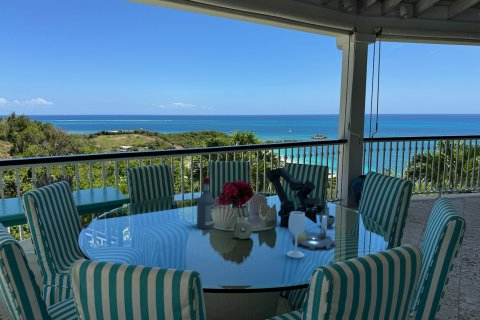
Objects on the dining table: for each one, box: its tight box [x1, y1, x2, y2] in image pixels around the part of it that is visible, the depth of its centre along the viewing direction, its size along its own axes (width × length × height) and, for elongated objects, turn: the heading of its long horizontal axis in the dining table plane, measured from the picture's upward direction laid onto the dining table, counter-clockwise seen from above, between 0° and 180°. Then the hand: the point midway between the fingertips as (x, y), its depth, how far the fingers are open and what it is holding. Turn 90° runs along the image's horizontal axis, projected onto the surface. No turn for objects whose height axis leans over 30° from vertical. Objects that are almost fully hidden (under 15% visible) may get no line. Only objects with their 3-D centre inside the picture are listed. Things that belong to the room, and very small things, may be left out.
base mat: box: [291, 240, 336, 252], centre depth 203 cm, size 22×22×1 cm
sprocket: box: [291, 214, 336, 250], centre depth 202 cm, size 23×23×14 cm
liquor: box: [196, 176, 216, 230], centre depth 225 cm, size 9×9×30 cm
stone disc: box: [233, 219, 254, 240], centre depth 207 cm, size 10×4×10 cm, turn 86°
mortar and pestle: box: [318, 206, 336, 230], centre depth 235 cm, size 11×9×12 cm
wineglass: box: [286, 211, 306, 259], centre depth 183 cm, size 9×9×21 cm
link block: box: [297, 230, 307, 240], centre depth 201 cm, size 5×4×4 cm
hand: (316, 222), depth 210 cm, fingers closed
